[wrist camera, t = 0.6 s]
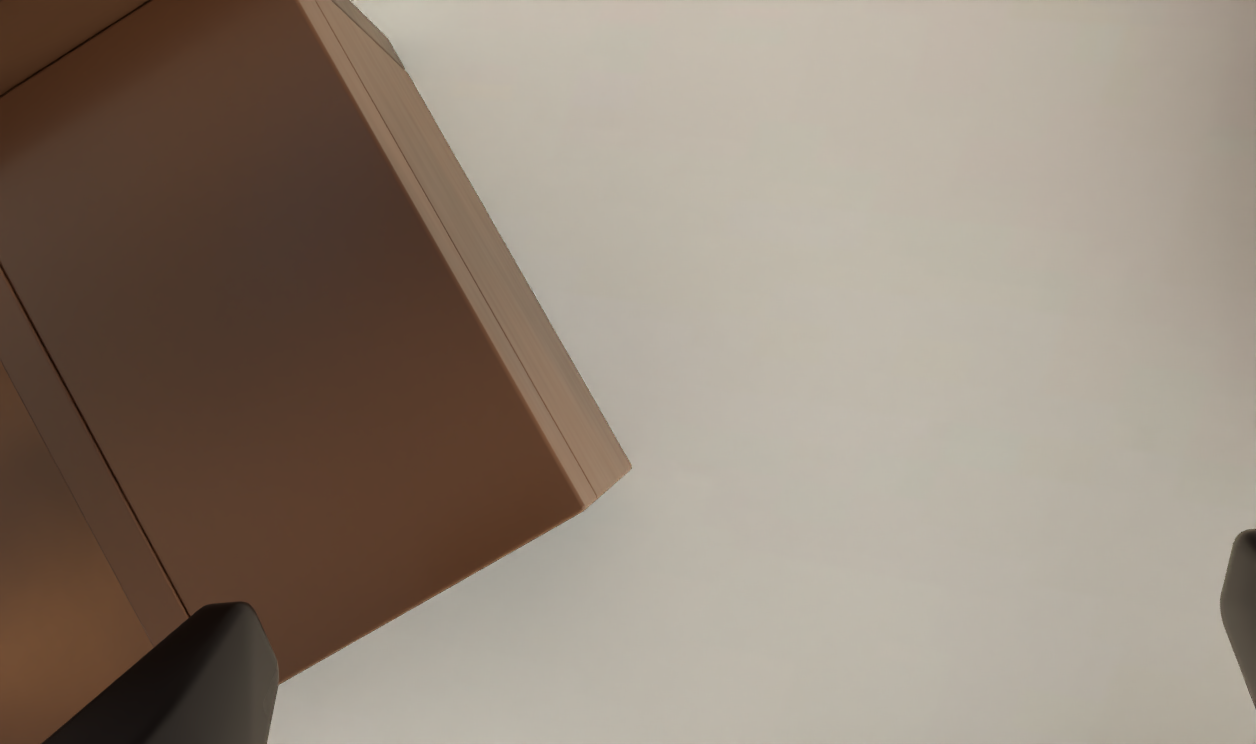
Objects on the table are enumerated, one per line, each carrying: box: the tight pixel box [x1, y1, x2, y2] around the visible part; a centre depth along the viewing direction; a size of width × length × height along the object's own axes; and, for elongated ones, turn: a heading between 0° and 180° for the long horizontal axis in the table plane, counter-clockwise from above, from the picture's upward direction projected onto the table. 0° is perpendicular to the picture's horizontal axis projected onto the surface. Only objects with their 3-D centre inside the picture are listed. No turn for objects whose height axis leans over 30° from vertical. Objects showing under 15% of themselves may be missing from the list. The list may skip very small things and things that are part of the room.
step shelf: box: [0, 0, 632, 744], centre depth 21 cm, size 12×18×10 cm
